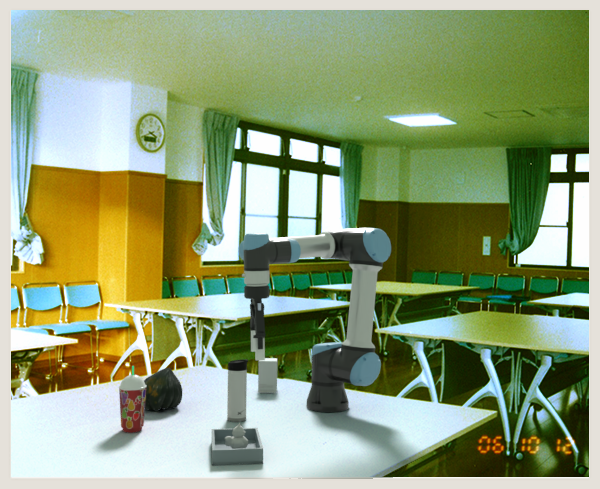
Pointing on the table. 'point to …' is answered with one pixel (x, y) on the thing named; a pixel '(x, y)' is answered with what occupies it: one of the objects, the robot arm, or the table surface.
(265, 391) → the supplement box
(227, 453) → the bin
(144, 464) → the table surface
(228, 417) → the travel mug
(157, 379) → the squash
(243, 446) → the white animal figurine
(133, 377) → the smoothie
